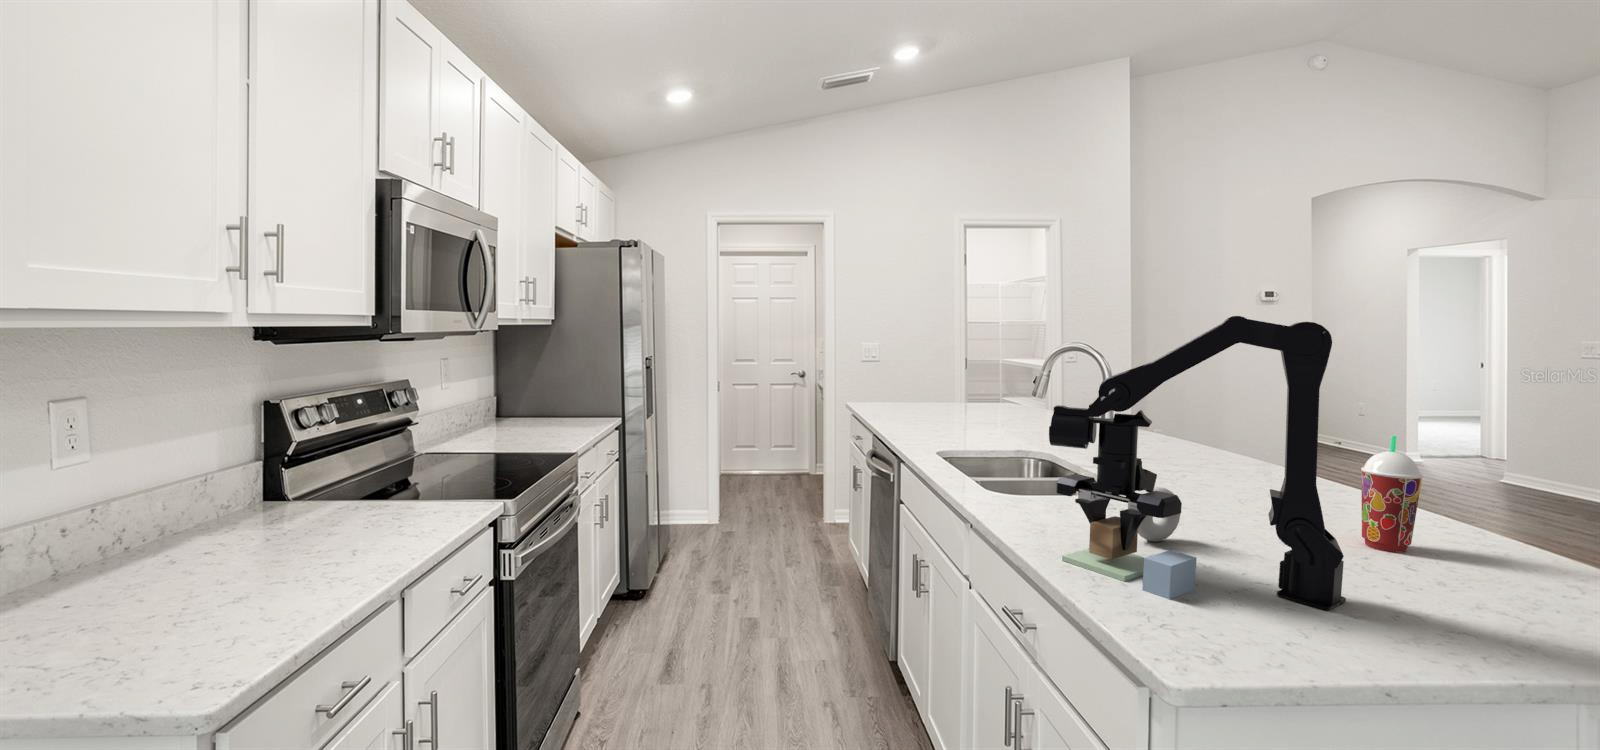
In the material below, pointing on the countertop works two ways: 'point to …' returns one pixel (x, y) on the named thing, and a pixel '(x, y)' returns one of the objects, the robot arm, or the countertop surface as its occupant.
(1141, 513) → the robot arm
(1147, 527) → the donut
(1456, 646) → the countertop surface
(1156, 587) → the slate brick
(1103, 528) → the walnut brick
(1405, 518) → the smoothie
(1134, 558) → the baseplate
